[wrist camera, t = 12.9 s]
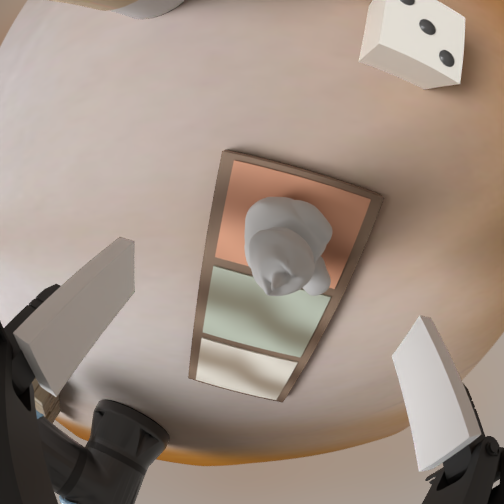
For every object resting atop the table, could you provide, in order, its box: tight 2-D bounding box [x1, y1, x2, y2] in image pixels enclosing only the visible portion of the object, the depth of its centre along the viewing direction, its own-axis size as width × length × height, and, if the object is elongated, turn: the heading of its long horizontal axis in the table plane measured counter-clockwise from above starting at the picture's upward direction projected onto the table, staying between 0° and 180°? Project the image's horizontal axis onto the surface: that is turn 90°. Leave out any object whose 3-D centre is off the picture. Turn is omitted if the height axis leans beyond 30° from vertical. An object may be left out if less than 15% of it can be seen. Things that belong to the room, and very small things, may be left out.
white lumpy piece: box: [244, 197, 332, 296], centre depth 15 cm, size 5×7×8 cm
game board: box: [188, 150, 384, 402], centre depth 23 cm, size 24×11×1 cm, turn 167°
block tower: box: [32, 378, 60, 424], centre depth 43 cm, size 8×8×29 cm
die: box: [359, 0, 465, 90], centre depth 10 cm, size 5×5×5 cm
